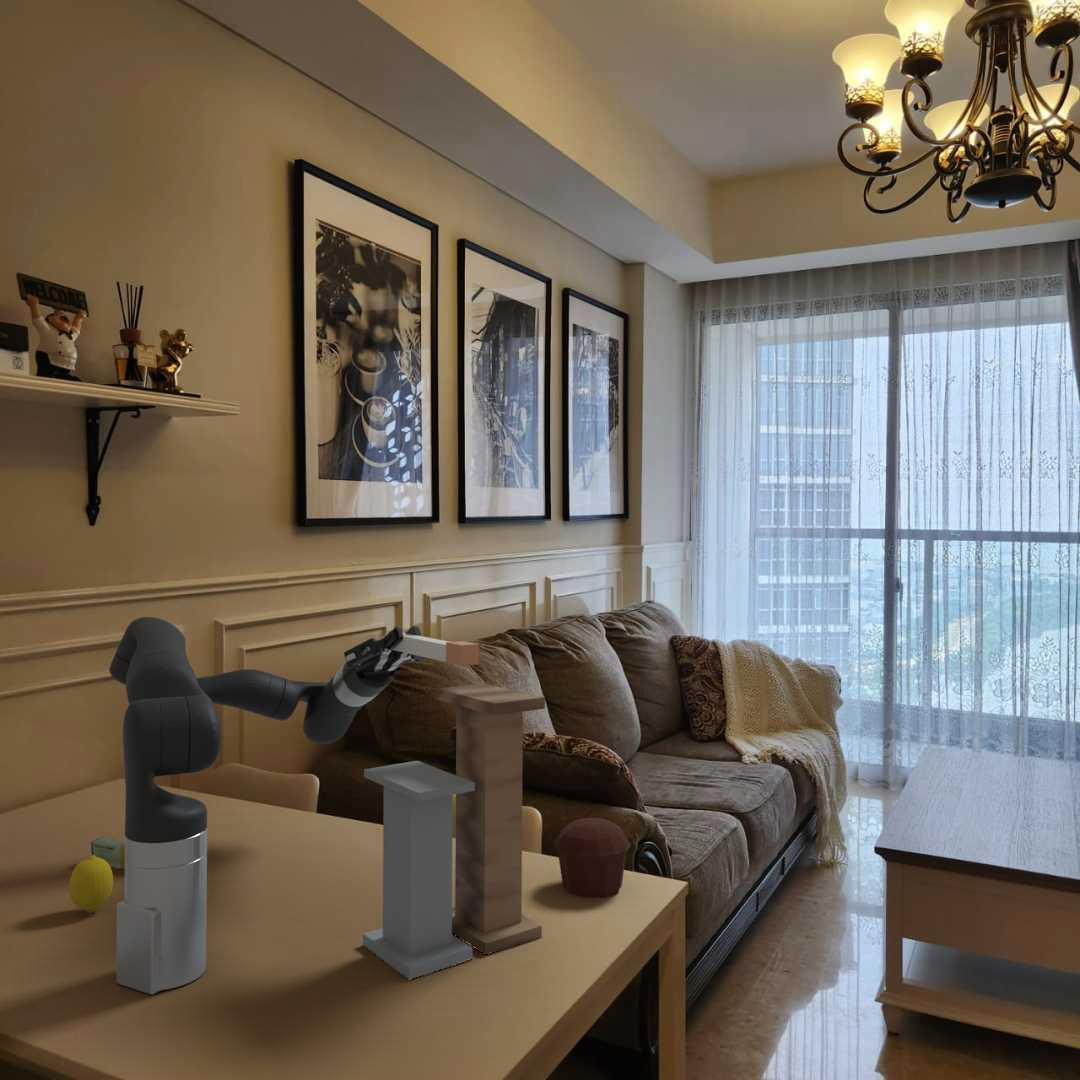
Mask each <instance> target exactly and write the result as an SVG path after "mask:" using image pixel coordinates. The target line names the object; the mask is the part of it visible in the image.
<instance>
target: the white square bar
mask: <svg viewBox="0 0 1080 1080" xmlns="http://www.w3.org/2000/svg"><path fill="white" fill-rule="evenodd" d="M388 633H389V632H386V633H385V636H386V635H387V634H388ZM391 650H395V651H400V652H404V653H408V654H413V655H417V656H422V657H423V658H427V659H429V660H430V659H431V660H436V661H440V662H445V663H446V664H450V665H457V666H461V667H463V666H465V667H467V666H475V665H476V666H478V665H479V664H480V662H479V661H480V653H479V652H480V644H479V643H475V642H470V641H464V640H460V641H448V640H443V639H438V638H432V637H427V636H423V635H421V636H418V635H412V634H407V633H406V632H403V640H402V641H401V642H400V643H399V644H398V645H397V646H396V647H395V648H394V649H391Z"/></svg>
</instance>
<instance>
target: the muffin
mask: <svg viewBox="0 0 1080 1080" xmlns="http://www.w3.org/2000/svg"><path fill="white" fill-rule="evenodd" d="M630 842H631V841H629V839H628V836H627V835H626V833H625V832H624V831H623V829H622V828H621V826H619V825H618V824H616V823H614V822H612V821H610V820H609V819H605V818H600V817H586V818H585V817H584V818H580V819H577V820H574V821H572V822H571V823H569V824H568V825H565V827H564V828H563V829H562V830H561V831H560V832H559V833H558V835H557V836H556V839H555V840H554V841H553V845H554V846H555V849H556V850H557V856H558V861H559V869H560V875H561V881H562V883H561V884H562V887H564V889H565V890H566V891H567V892H568V893H569V894H570V895H575V896H579V897H582V898H586V899H590V898H607V897H610V896H612V895H616V894H619V892H620V890H621V888H622V886H623V880H624V879H623V878H624V873H625V865H626V859H627V852H628V851H629V849H630V848H631V846H632V844H631V843H630Z"/></svg>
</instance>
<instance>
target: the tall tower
mask: <svg viewBox="0 0 1080 1080" xmlns="http://www.w3.org/2000/svg"><path fill="white" fill-rule="evenodd" d="M436 700H437V701H441V702H442V703H443V702H444V703H448V704H452V705H455V706H456V714H455V716H456V717H455V718H456V719H455V721H456V724H455V725H456V726H455V727H456V731H455V733H456V739H455V740H456V742H455V743H456V744H455V748H456V749H455V750H456V751H455V755H456V756H455V757H456V758H455V759H456V760H455V770H456V771H455V775H456V776H459V777H462V778H464V779H467V780H469V781H472V782H475V791H470V792H465V793H460V794H455V858H454V859H455V860H454V861H455V868H454V869H455V870H454V871H455V873H454V877H455V878H454V879H455V881H454V883H455V885H454V893H455V894H454V895H455V897H454V898H455V899H454V907H452V935H453V934H454V935H456V936H458V937H459V938H461V939H463V940H464V941H466V942H468V943H470V944H471V945H472V946H474V947H476V948H477V949H479V950H480V951H482V952H483V953H485V954H488V953H490V952H494V953H497V952H496V951H498V952H500V951H503V950H506V949H510V948H512V947H516V946H519V945H522V944H524V943H528V942H531V941H534V940H537V939H541V938H542V935H543V933H542V930H543V927H542V925H541V924H539V923H538V922H536V921H534V920H532V919H530V918H528V917H527V916H525V915H523V914H522V904H523V903H522V898H523V897H522V895H523V894H522V892H523V891H522V890H523V889H522V888H523V886H522V885H523V883H522V880H523V878H522V877H523V876H522V874H523V873H522V872H523V871H522V870H523V869H522V868H523V865H522V864H523V761H524V760H523V751H524V750H523V749H524V748H523V747H524V745H523V743H524V742H523V741H524V740H523V739H524V738H523V735H524V732H523V731H524V727H523V726H524V712H529V711H537V710H544V709H546V697H545V696H542V695H537V694H533V693H529V692H524V691H519V690H514V689H510V688H507V687H506V688H505V687H501V686H497V685H493V684H489V683H478V684H469V685H468V684H467V685H459V686H450V687H441V688H436ZM454 935H453V936H454ZM456 936H455V937H456ZM459 938H458V939H459ZM461 939H460V940H461ZM464 941H463V942H464ZM472 946H471V947H472ZM483 953H482V954H483ZM488 955H489V954H488Z"/></svg>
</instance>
